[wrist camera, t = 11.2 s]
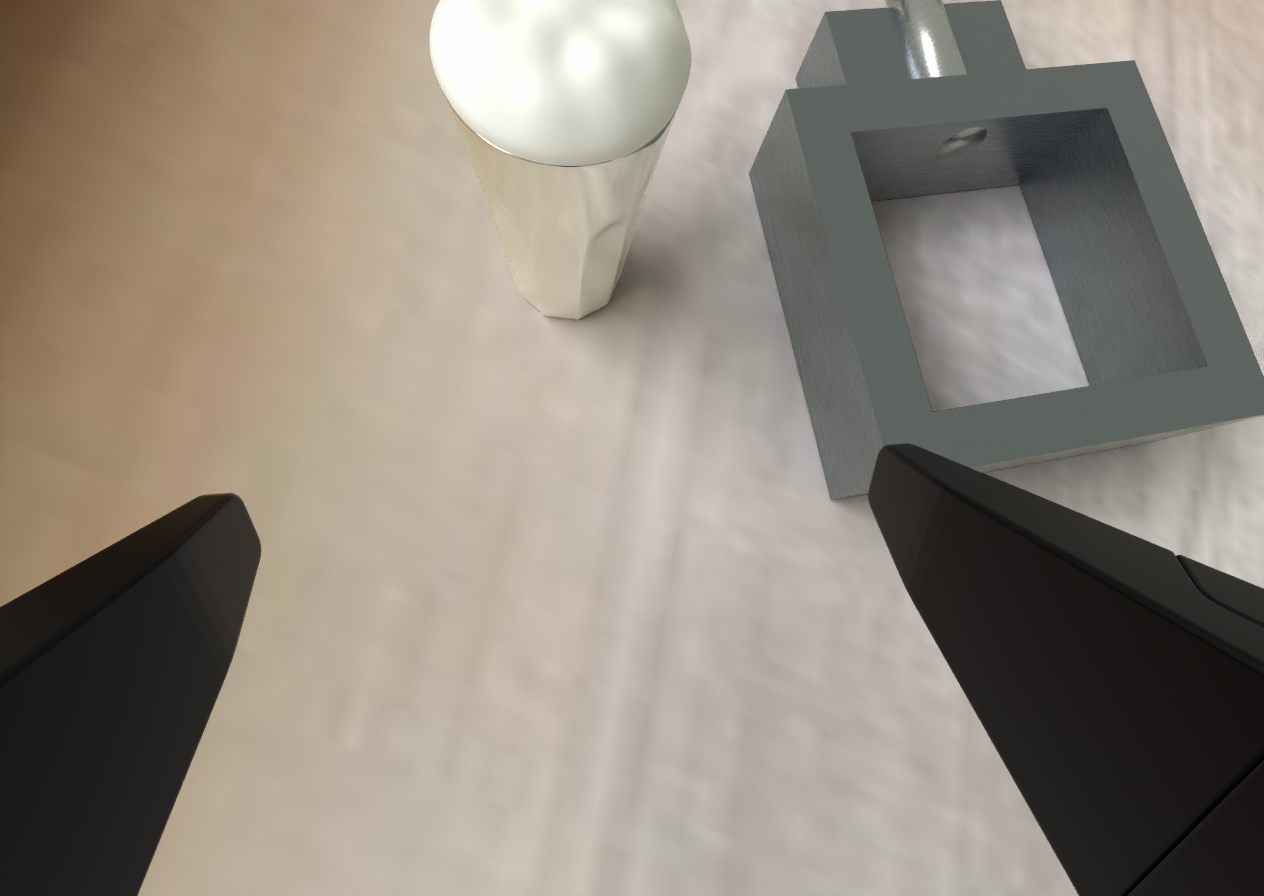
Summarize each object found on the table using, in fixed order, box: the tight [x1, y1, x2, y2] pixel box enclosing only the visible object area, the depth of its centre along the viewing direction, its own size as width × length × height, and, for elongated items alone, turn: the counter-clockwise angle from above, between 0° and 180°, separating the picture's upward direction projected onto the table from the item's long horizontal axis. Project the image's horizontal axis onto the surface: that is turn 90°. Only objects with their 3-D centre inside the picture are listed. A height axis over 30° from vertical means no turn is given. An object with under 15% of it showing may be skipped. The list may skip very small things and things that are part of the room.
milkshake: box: [430, 0, 691, 320], centre depth 14 cm, size 4×5×10 cm
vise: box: [749, 0, 1264, 500], centre depth 18 cm, size 17×11×4 cm, turn 11°
